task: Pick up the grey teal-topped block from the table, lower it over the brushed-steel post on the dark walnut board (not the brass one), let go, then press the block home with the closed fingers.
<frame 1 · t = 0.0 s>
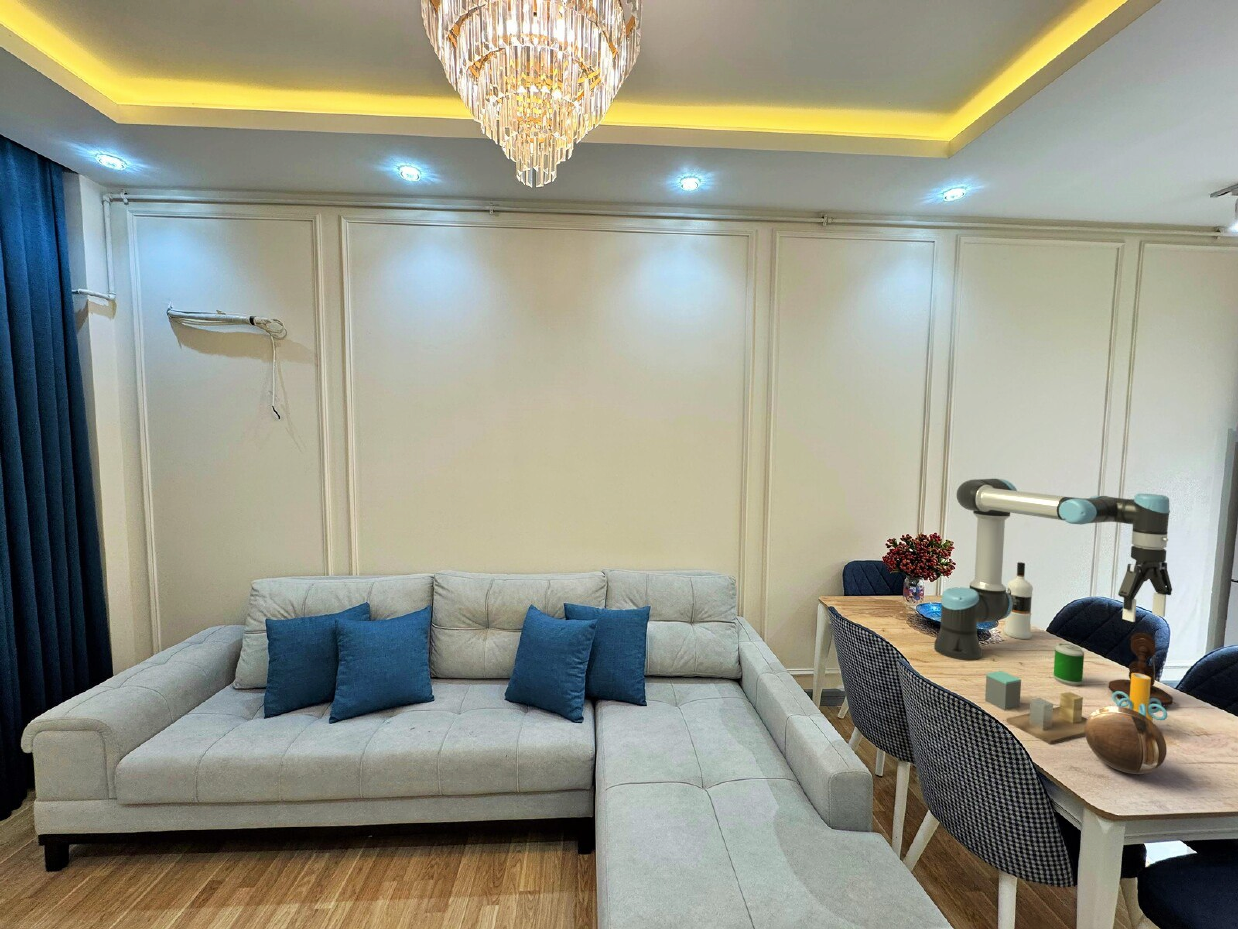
hand: (1143, 618, 166), 28 cm above the table, fingers open, 13 cm apart
steel post: (1040, 729, 157), resting on walnut board
vodka: (1017, 636, 227), on the table
walnut board: (1055, 726, 159), on the table
grey teal-topped block: (1002, 703, 171), on the table
soda can: (1067, 682, 186), on the table
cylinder: (1137, 728, 158), on the table
bronze metallic ball: (1122, 769, 139), on the table
turned wooden candlestick: (1139, 699, 175), on the table
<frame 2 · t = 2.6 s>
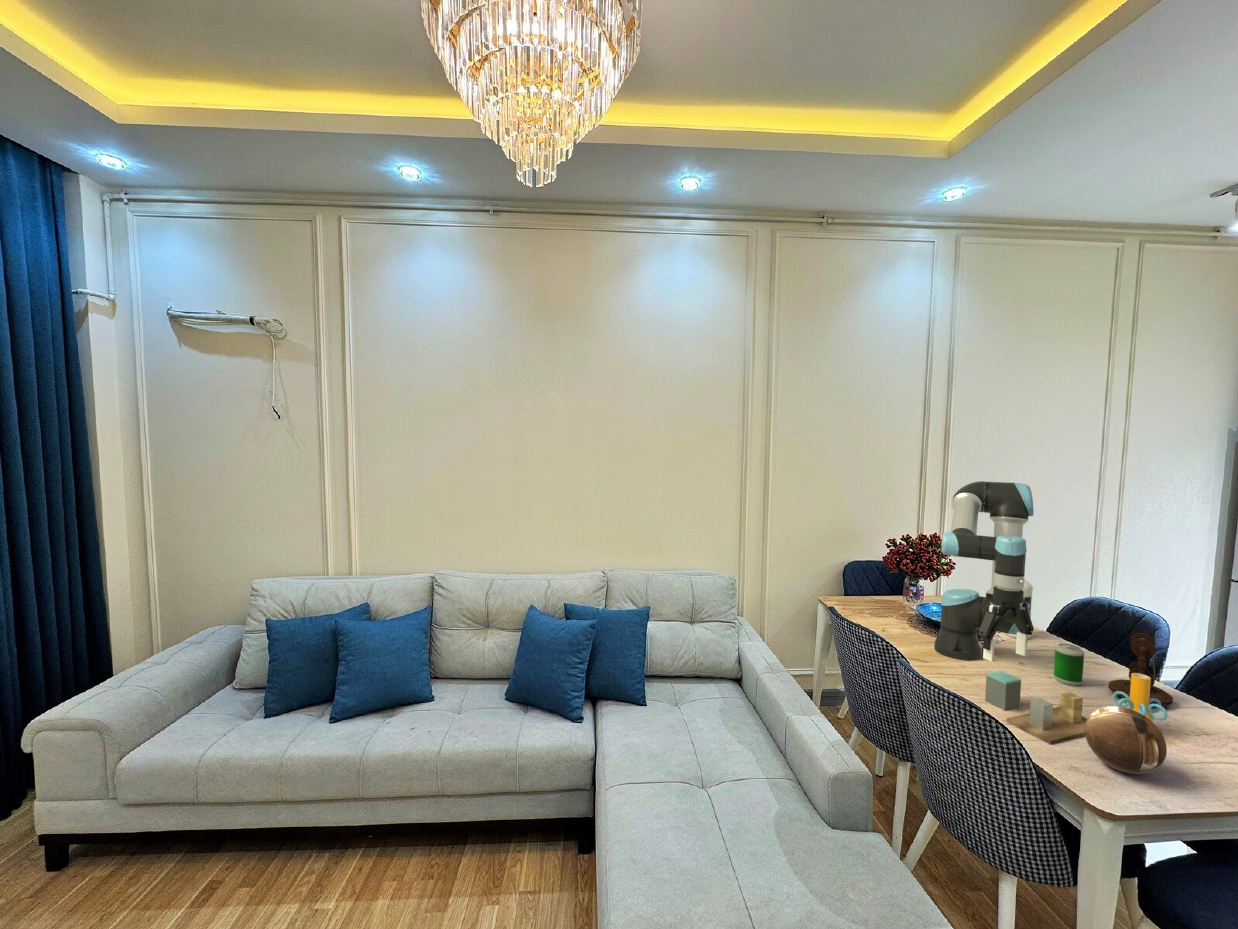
hand: (1004, 657, 170), 15 cm above the table, fingers open, 13 cm apart
nothing on the table moved.
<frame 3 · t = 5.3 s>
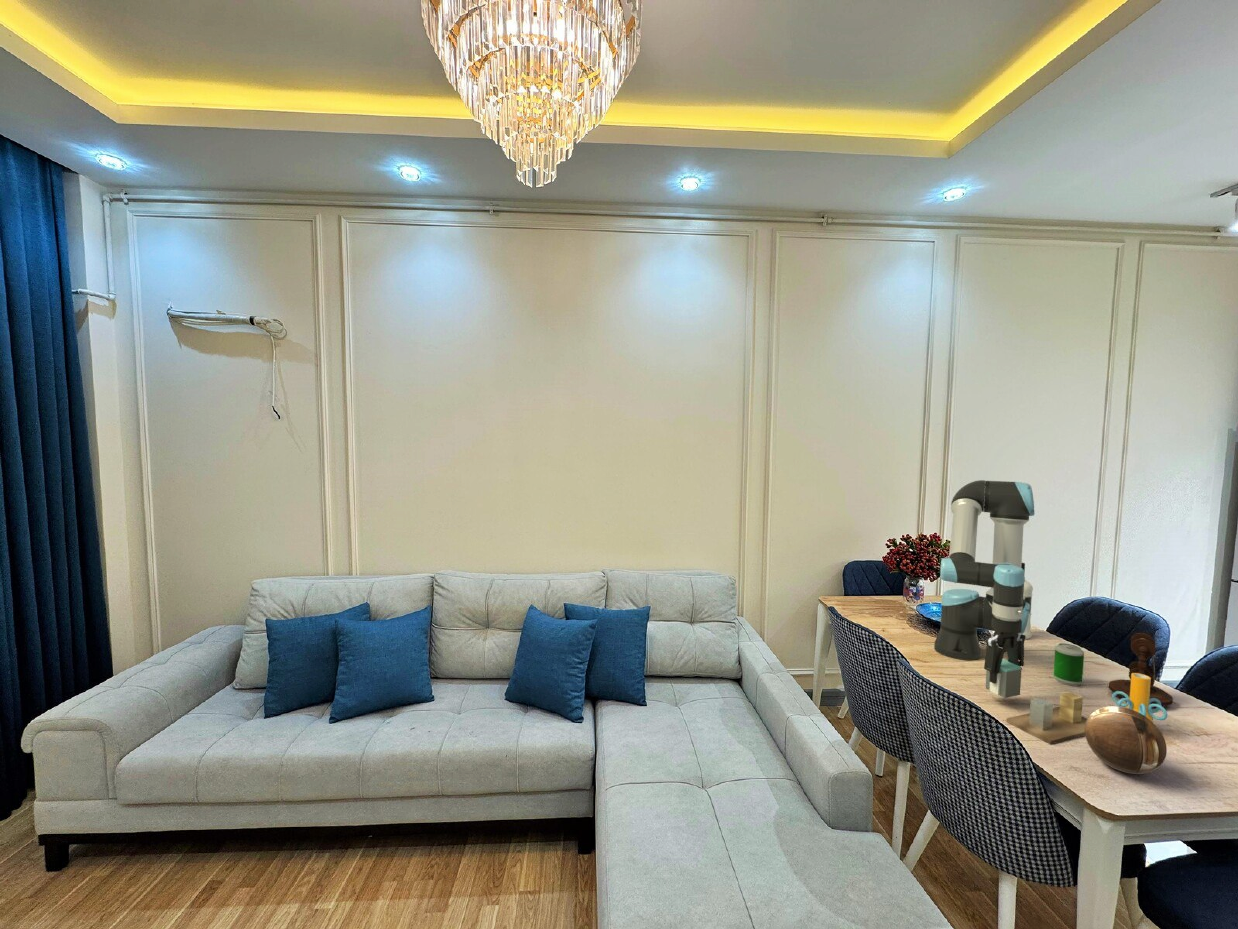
hand: (1002, 690, 171), 4 cm above the table, fingers closed on grey teal-topped block, 6 cm apart
grey teal-topped block: (1002, 691, 171), point 4 cm above the table, touching gripper
everything else where it was.
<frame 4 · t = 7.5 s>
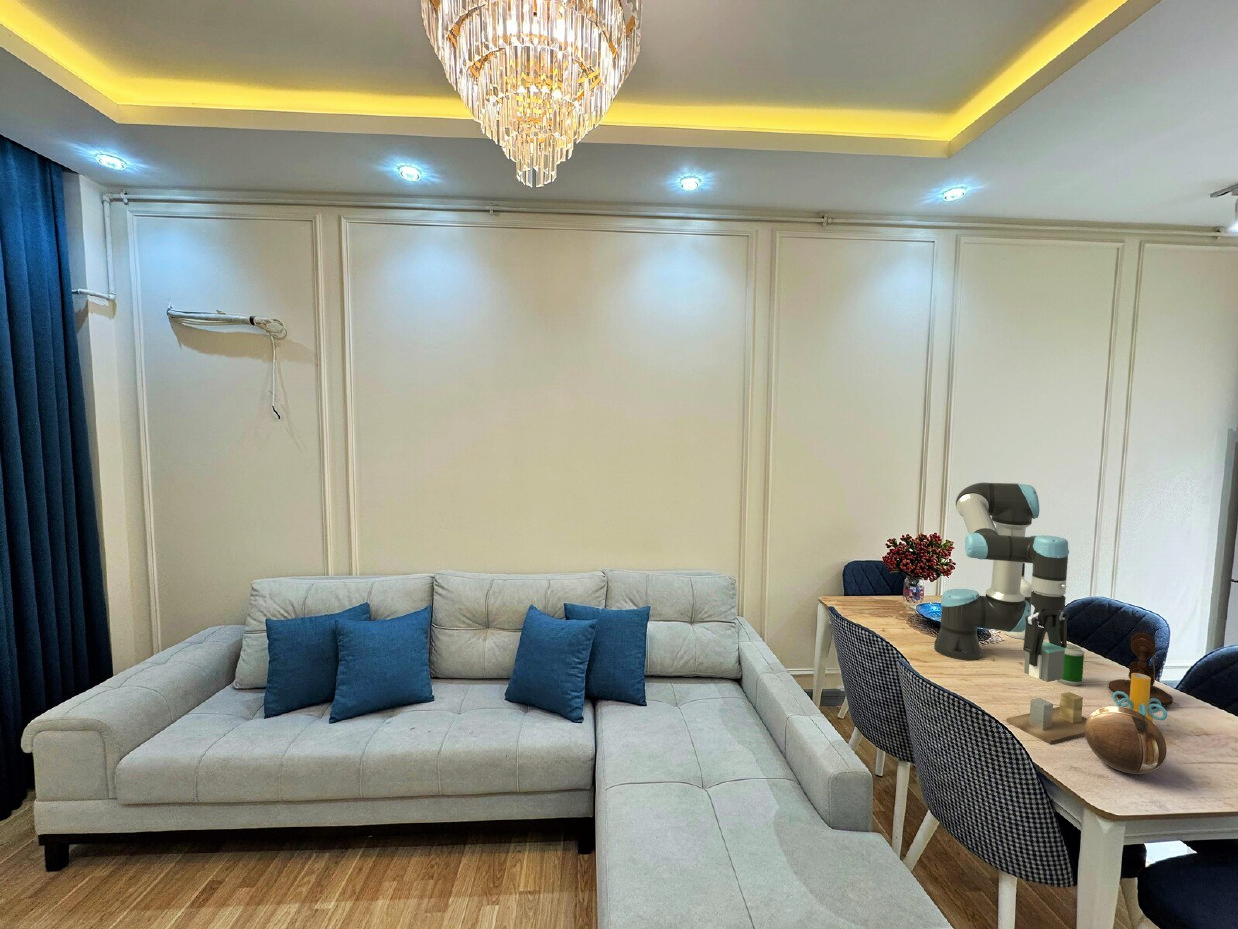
hand: (1043, 675, 155), 16 cm above the table, fingers closed on grey teal-topped block, 6 cm apart
grey teal-topped block: (1043, 675, 156), point 16 cm above the table, touching gripper
everything else where it was.
when the fingers open (2 cm above the table, at t = 9.9 s): grey teal-topped block stays where it is, resting on walnut board.
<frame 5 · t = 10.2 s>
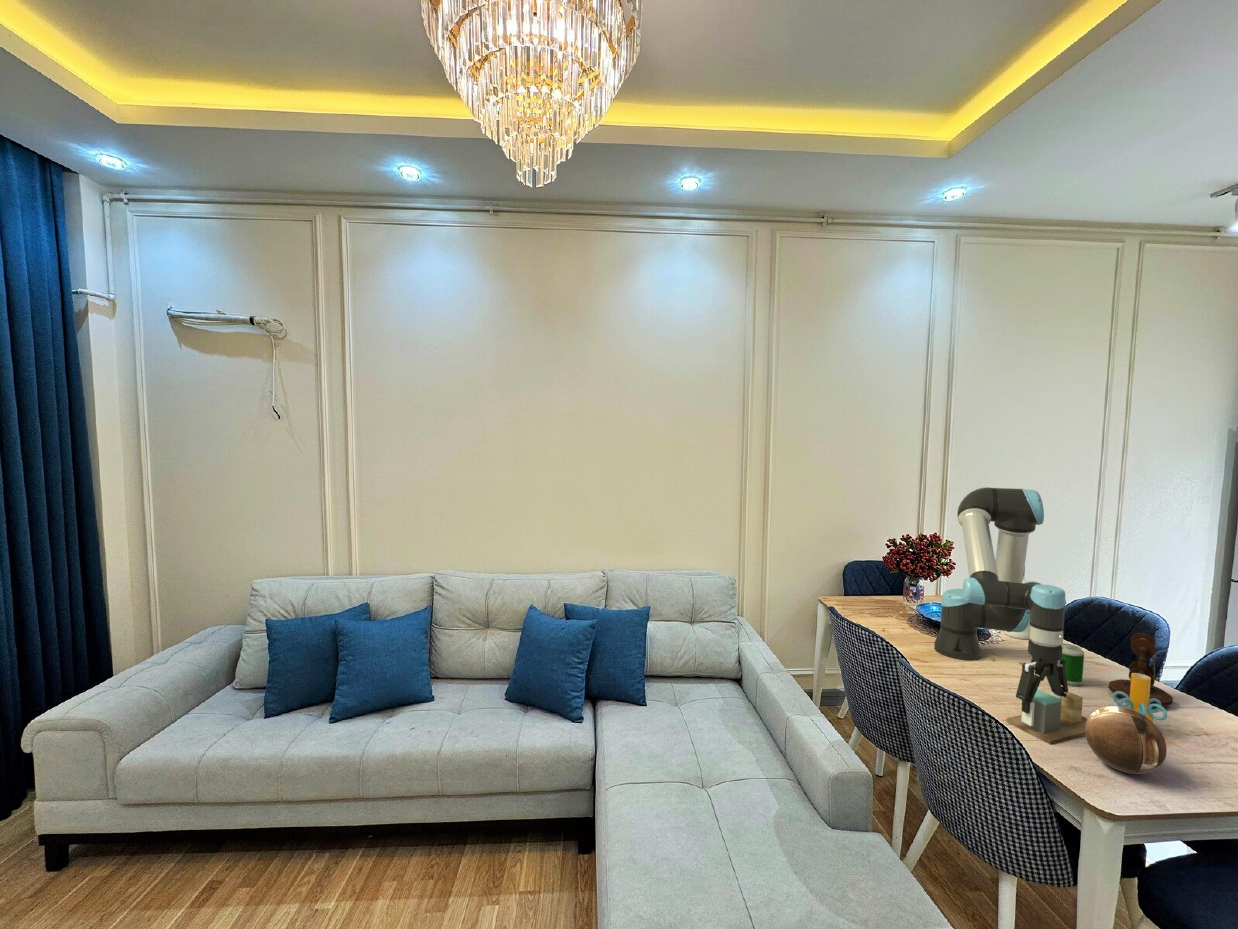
hand: (1040, 720, 157), 3 cm above the table, fingers open, 10 cm apart
grey teal-topped block: (1040, 726, 157), point 1 cm above the table, touching walnut board
everything else where it was.
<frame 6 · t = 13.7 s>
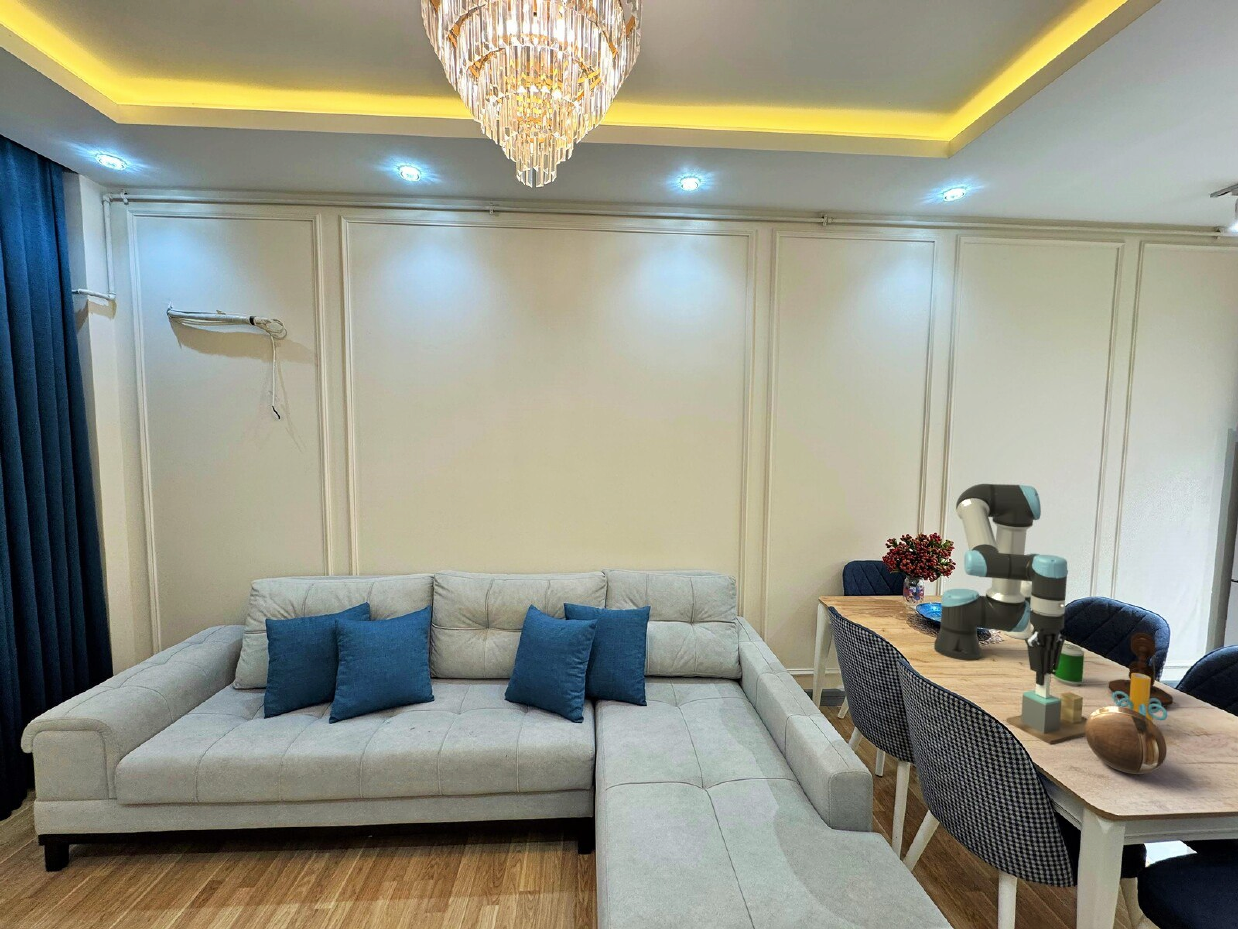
hand: (1042, 695, 156), 10 cm above the table, fingers closed
grey teal-topped block: (1040, 726, 157), point 1 cm above the table, touching gripper, walnut board
everything else where it was.
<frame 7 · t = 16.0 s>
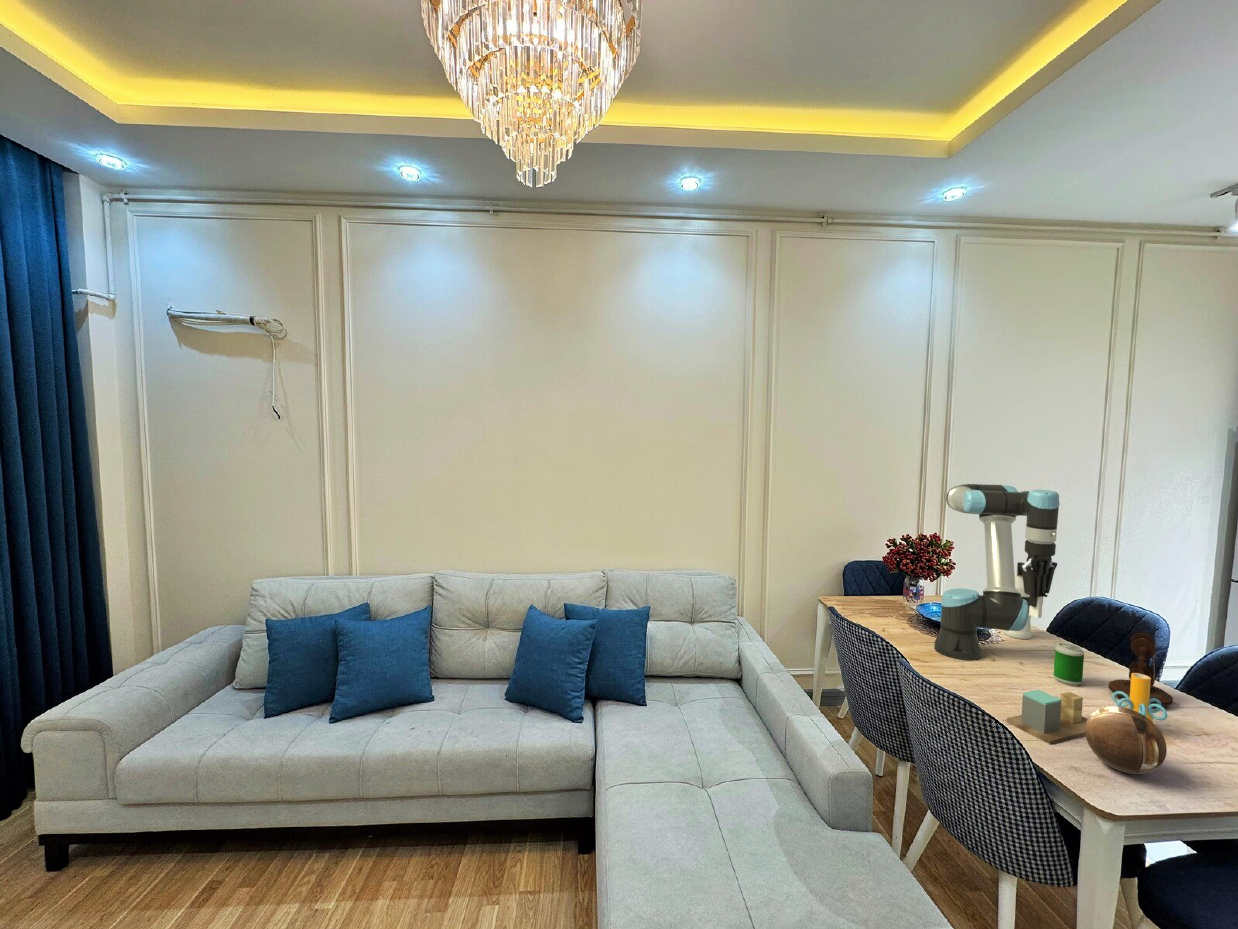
hand: (1035, 616, 173), 26 cm above the table, fingers closed
grey teal-topped block: (1040, 726, 157), point 1 cm above the table, touching walnut board
everything else where it was.
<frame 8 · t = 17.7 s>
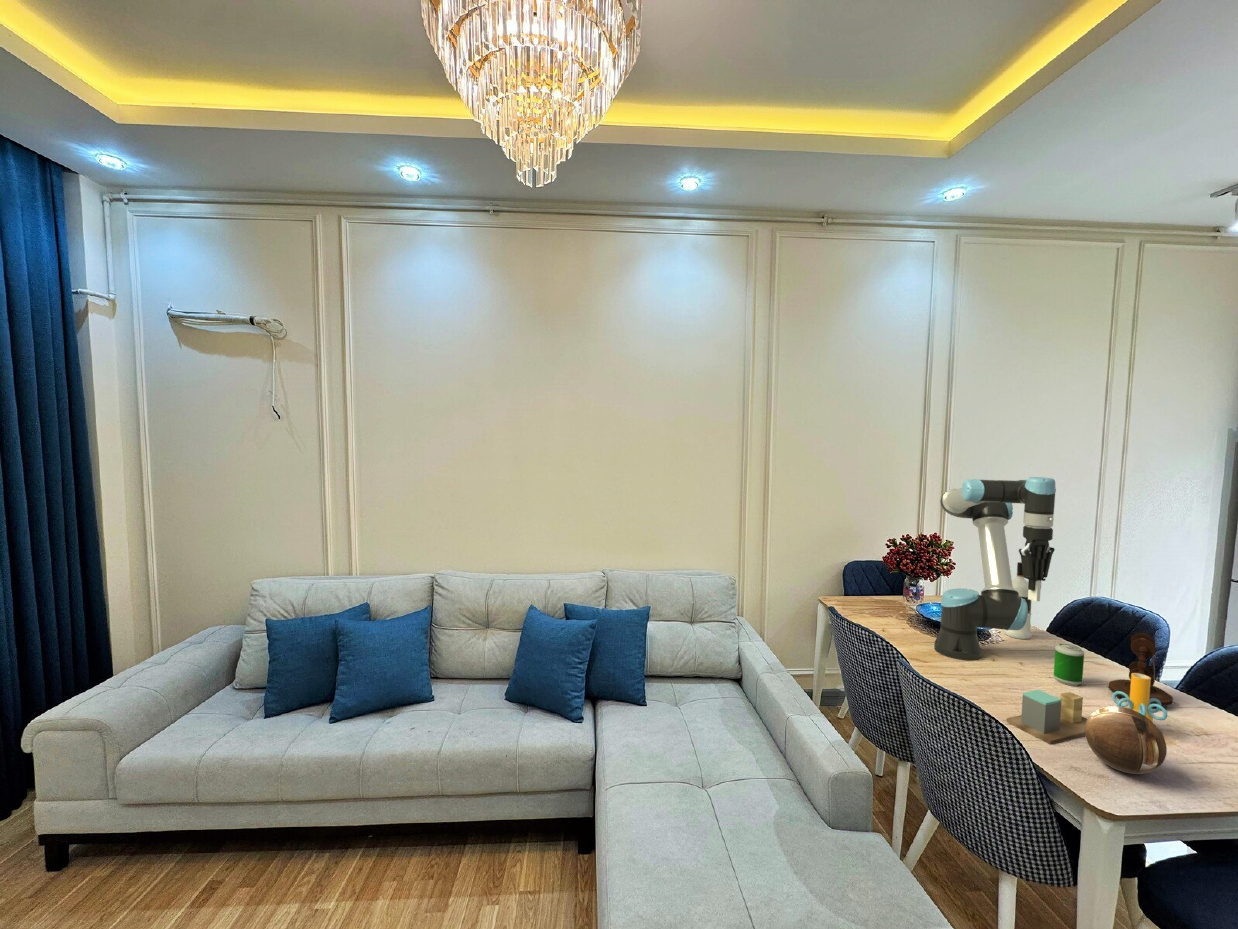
hand: (1033, 600, 178), 29 cm above the table, fingers closed
nothing on the table moved.
at the end: grey teal-topped block 0.1 cm from the steel post (horizontally); grey teal-topped block point 1.0 cm above the table; grey teal-topped block tilted 0° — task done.
